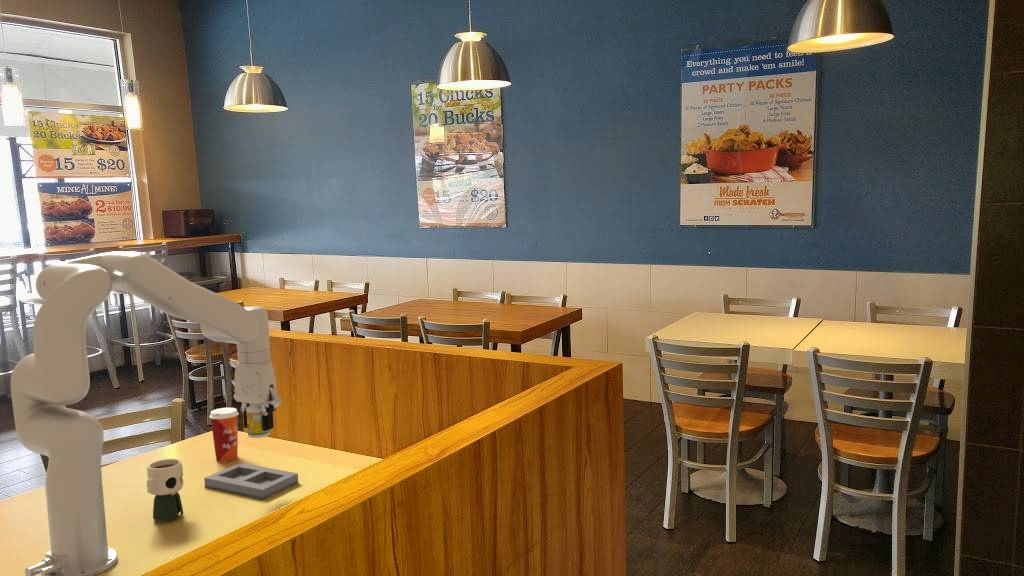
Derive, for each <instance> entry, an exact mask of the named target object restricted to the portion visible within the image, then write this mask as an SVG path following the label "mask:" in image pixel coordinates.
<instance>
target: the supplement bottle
mask: <svg viewBox="0 0 1024 576" xmlns="http://www.w3.org/2000/svg"><path fill="white" fill-rule="evenodd" d="M266 407H267V408H268V404H266ZM246 414H247V428H246V429H247V436H248V437H249V438H252V439H261V438H262V439H263V438H265V437H268V436H269V435H271V429H270V430H267V431H263V430H262V415H264V414H263V411H262V408H261V405H256V404H250V406H248V407H247V409H246Z"/></svg>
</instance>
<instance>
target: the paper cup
mask: <svg viewBox="0 0 1024 576" xmlns="http://www.w3.org/2000/svg"><path fill="white" fill-rule="evenodd" d="M239 414H240V413H239V412H238V409H237V408H235V407H221V408H216V409H213V410H211V411H210V415H209V418H210V422H211V429H212V437H213V444H214V446H213V447H214V453H215V459H216V461H217V462H218V461H220V462H219V463H225V462H224V461H229V462H231V461H230V460H233V461H235V460H237V459H238V449H239V448H238V445H239V443H238V442H239V441H238V437H239V436H238V435H239V434H238V432H239V430H238V422H239V421H238V420H239V419H238V416H239ZM236 458H237V459H236ZM234 459H235V460H234Z"/></svg>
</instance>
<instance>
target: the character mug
mask: <svg viewBox="0 0 1024 576" xmlns="http://www.w3.org/2000/svg"><path fill="white" fill-rule="evenodd" d="M183 468H184V467H183V464H182V460H181V459H178V458H166V459H165V458H163V459H159V460H156V461H152V462H150V463H149V464H147V465H146V470H147V471H146V473H147V480H146V490H147V493H148V494H150V495H153V496H154V498H153V505H152V506H153V508H152V519H153V521H159V522H164V523H165V522H171V521H175V520H177V519H179V514H180V517H182V516H183V515H184V508H183V504H182V499H181V495H180V493H179V492H180V491H181V490H182V489H183V487H184V478H183V476H184V469H183Z"/></svg>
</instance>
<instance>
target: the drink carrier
mask: <svg viewBox="0 0 1024 576" xmlns="http://www.w3.org/2000/svg"><path fill="white" fill-rule="evenodd" d="M203 480H204V488H206V489H211V490H216V491H221V492H226V493H231V494H235V495H241V496H244V497H248V498H253V499H256V500H257V499H258V500H266V499H268V498H270V497H273V496H274V495H277V494H278V493H281V492H282V491H285V490H288V489H289V488H290V487H291V488H292V486H295V485H297V484H299V473H298V472H292V471H287V470H282V469H276V468H271V467H266V466H260V465H255V464H250V463H244V462H239V463H237V464H235V465H232V466H230V467H227V468H225V469H222V470H219V471H217V472H215V473H212V474H210V475H207V476H205V477H204V478H203Z"/></svg>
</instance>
